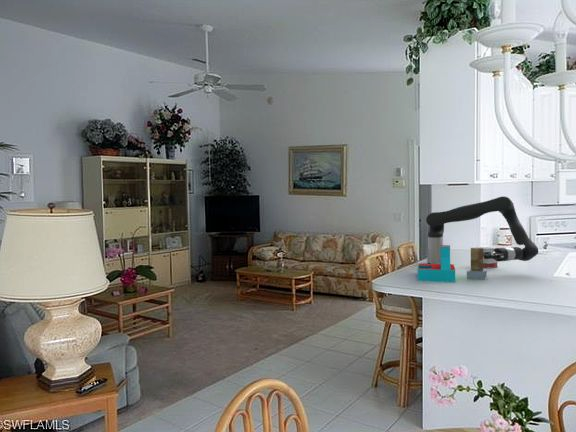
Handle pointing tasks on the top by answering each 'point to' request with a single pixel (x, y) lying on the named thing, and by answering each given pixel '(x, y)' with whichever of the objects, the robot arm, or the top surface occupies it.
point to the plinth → (476, 274)
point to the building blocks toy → (438, 268)
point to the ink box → (489, 261)
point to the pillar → (477, 259)
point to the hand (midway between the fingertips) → (479, 256)
